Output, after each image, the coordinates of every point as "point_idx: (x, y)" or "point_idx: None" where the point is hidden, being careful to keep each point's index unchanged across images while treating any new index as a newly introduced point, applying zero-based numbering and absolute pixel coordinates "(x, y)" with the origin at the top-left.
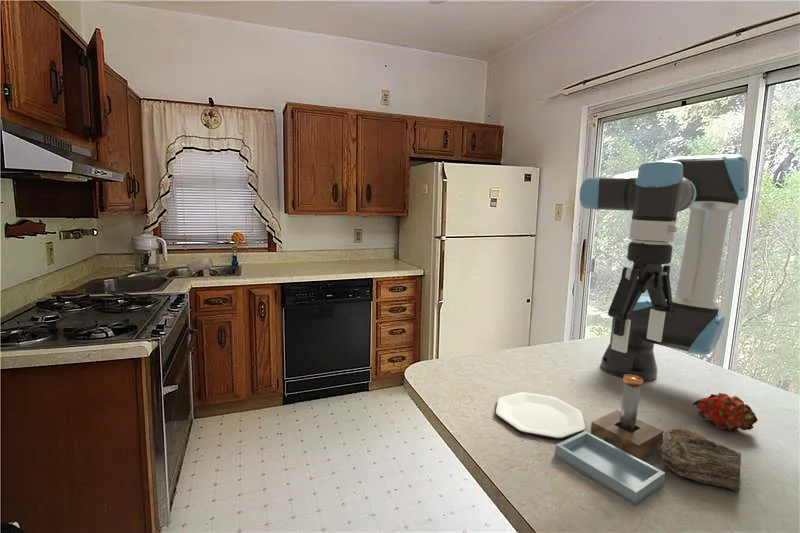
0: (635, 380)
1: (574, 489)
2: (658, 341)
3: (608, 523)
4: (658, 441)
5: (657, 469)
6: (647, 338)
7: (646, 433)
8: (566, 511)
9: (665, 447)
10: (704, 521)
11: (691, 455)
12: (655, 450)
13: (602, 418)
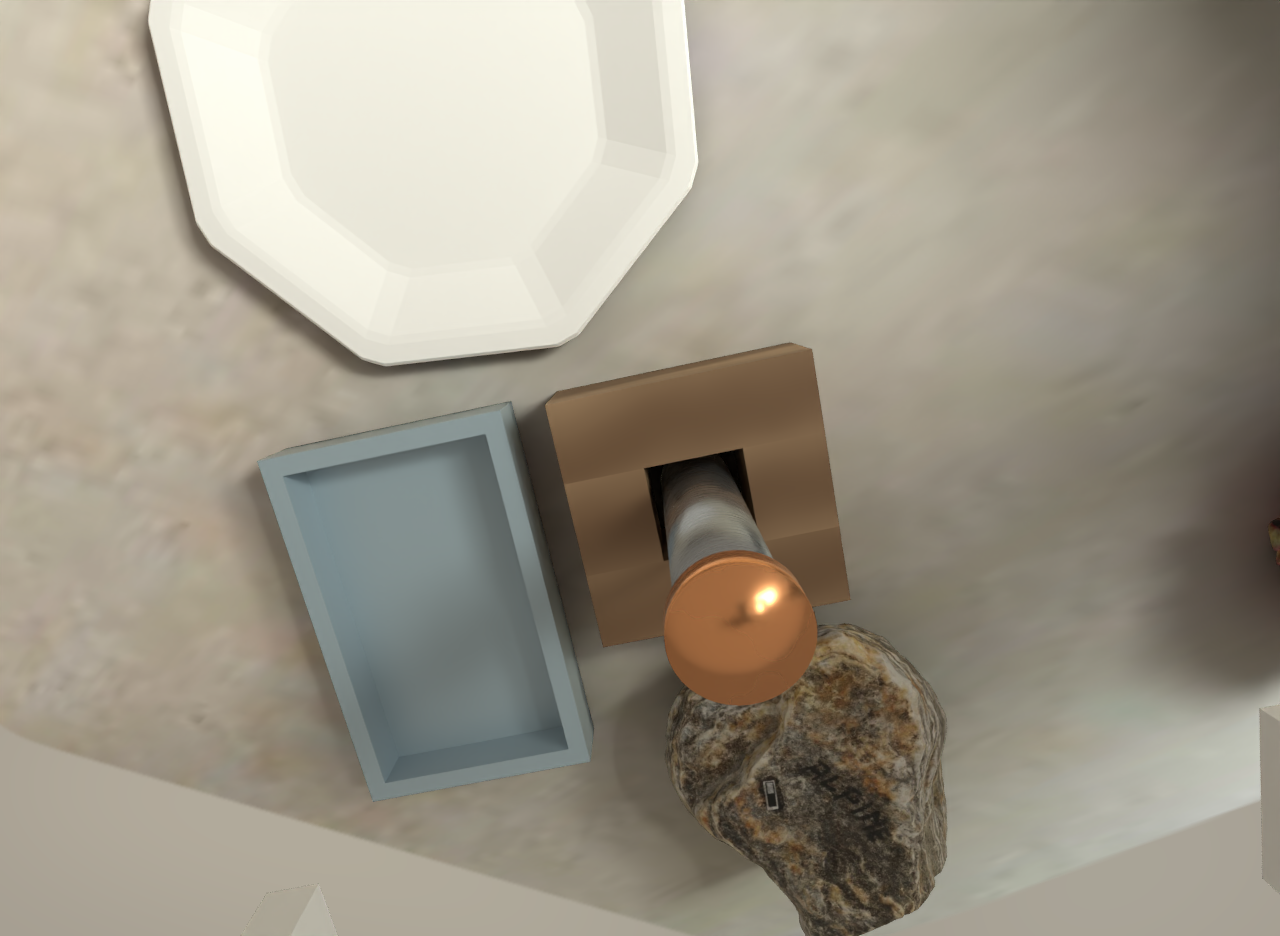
0: (708, 679)
1: (233, 639)
2: (1267, 867)
3: (239, 792)
4: None
5: (576, 739)
6: (1260, 727)
7: None
8: (131, 712)
9: None
10: (559, 878)
11: (713, 824)
12: None
13: (636, 397)
